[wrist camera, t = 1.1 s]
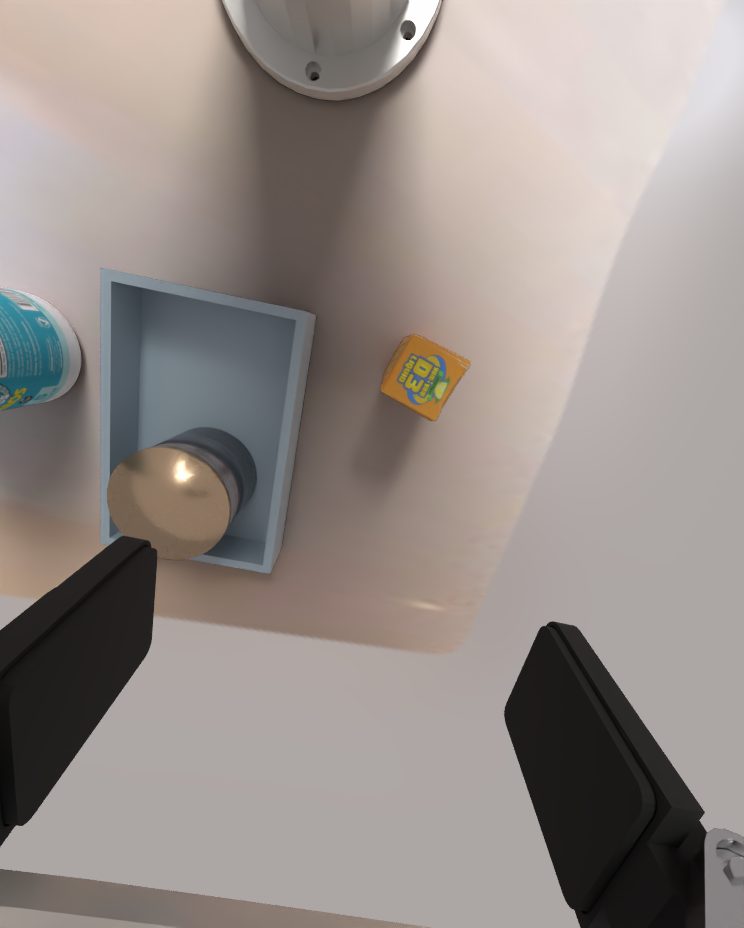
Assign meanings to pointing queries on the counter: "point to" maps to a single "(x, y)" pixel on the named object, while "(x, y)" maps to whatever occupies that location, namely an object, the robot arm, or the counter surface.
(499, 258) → the counter surface
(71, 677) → the robot arm
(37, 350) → the pill bottle
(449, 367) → the supplement box
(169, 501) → the tin
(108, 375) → the tote
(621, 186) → the counter surface
